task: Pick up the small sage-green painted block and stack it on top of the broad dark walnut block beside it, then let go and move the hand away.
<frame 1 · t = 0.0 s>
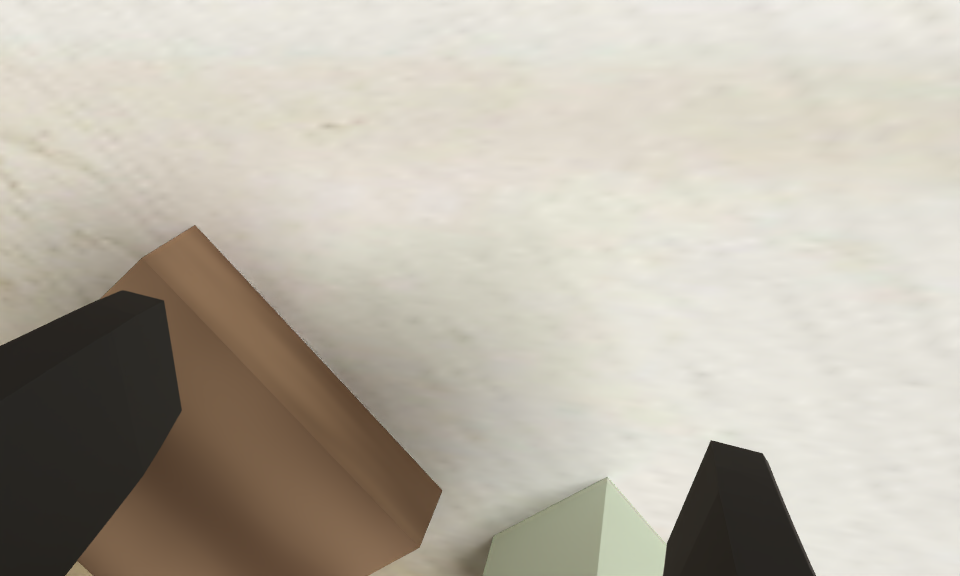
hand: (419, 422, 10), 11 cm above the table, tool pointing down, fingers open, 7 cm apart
sage block: (593, 555, 24), on the table
walnut block: (223, 435, 26), on the table
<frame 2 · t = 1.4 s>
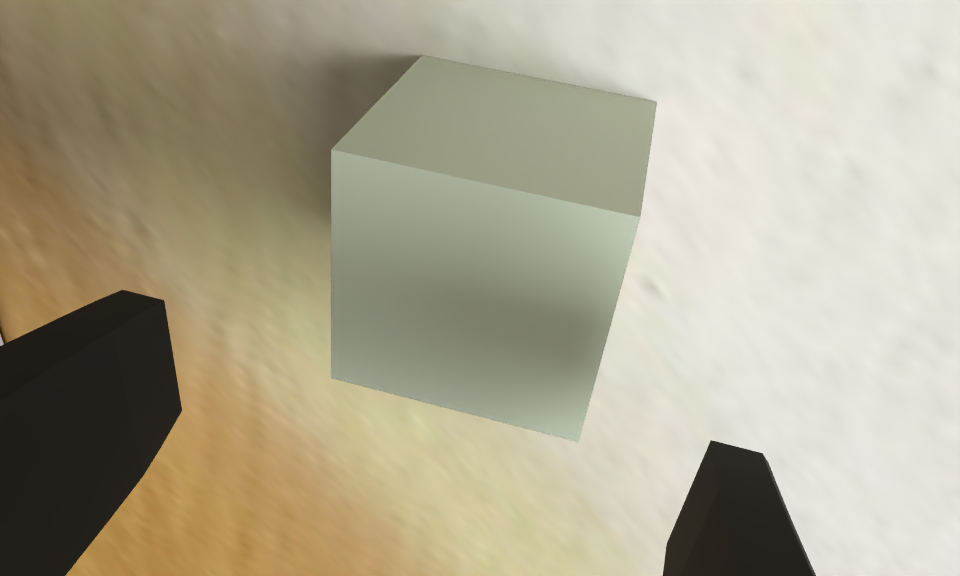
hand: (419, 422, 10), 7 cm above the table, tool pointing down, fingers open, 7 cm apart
sage block: (520, 182, 16), on the table
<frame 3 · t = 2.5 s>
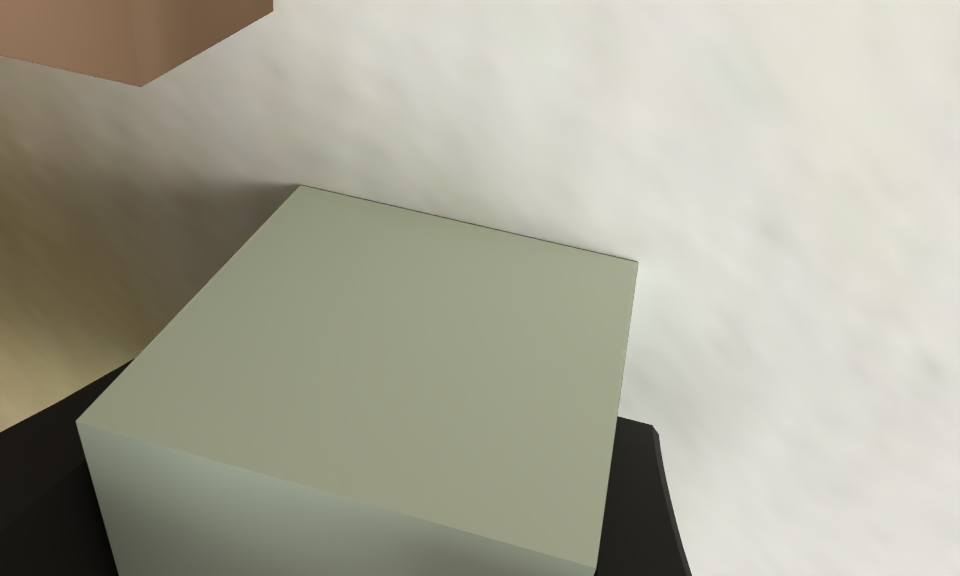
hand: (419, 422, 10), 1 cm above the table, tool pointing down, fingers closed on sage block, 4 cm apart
sage block: (448, 354, 11), on the table, touching gripper
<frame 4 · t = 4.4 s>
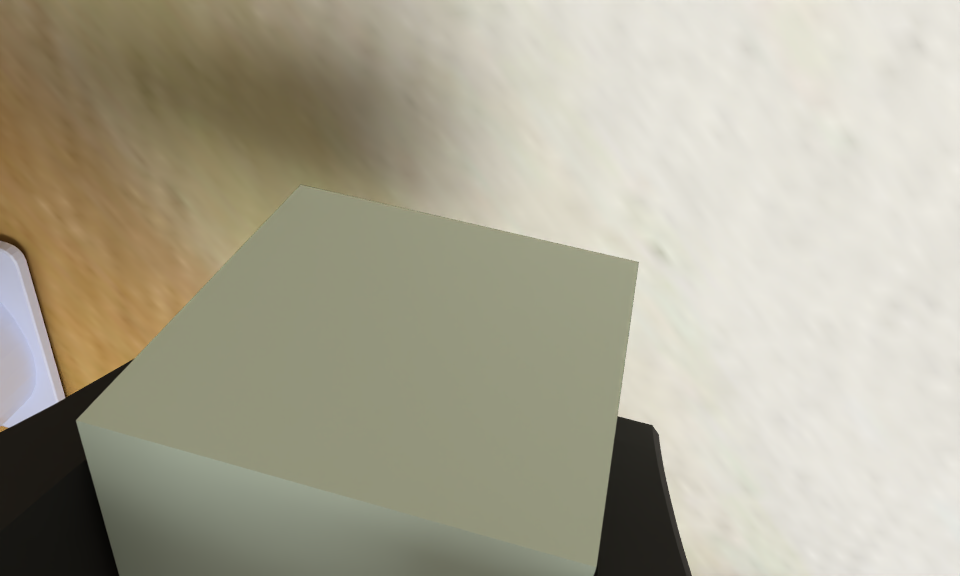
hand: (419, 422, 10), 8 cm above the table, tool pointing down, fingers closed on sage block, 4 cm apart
sage block: (448, 353, 11), point 7 cm above the table, touching gripper
when the fingers open (5 cm above the table, at t = 6.6 s): sage block drops 1 cm, point 2 cm above the table.
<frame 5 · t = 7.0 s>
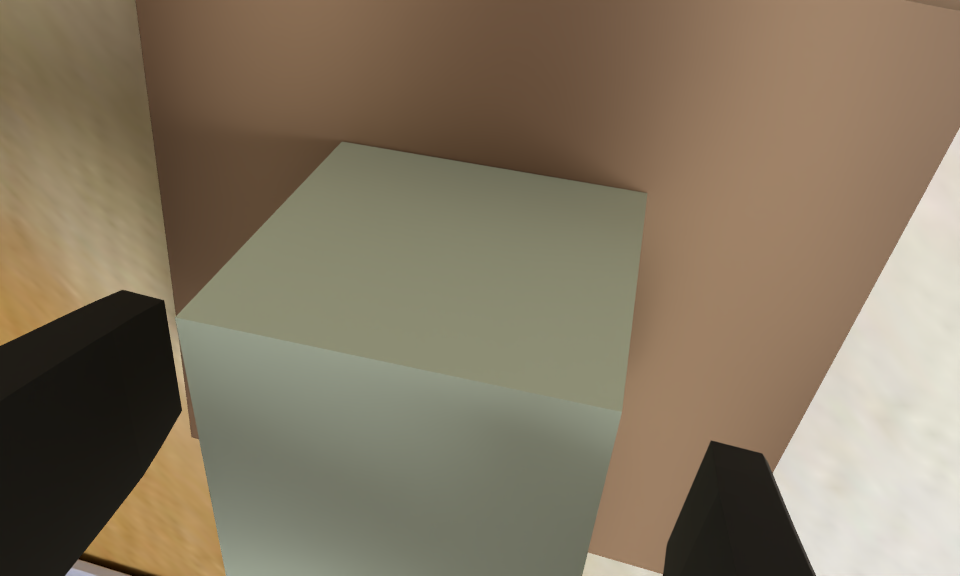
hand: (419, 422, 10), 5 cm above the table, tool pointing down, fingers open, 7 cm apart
sage block: (479, 293, 12), point 2 cm above the table
walnut block: (512, 207, 15), on the table
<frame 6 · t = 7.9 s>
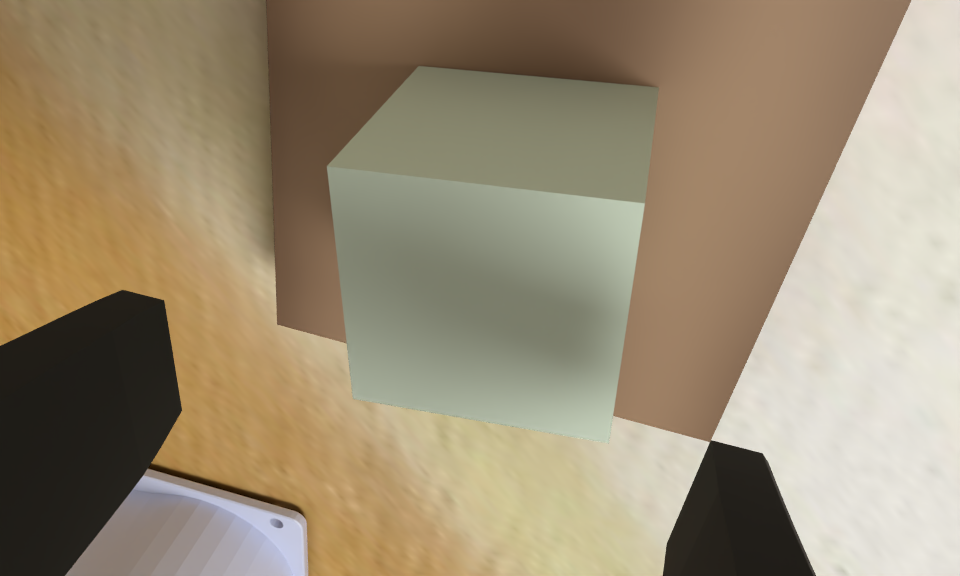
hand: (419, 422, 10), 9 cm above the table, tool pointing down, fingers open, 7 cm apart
sage block: (529, 185, 15), point 2 cm above the table, touching walnut block
walnut block: (548, 127, 18), on the table, touching sage block
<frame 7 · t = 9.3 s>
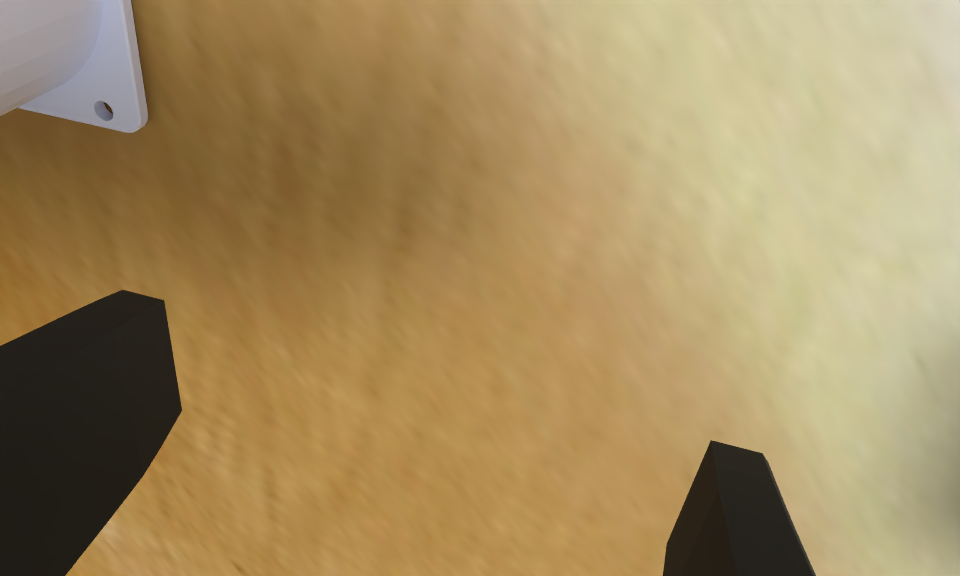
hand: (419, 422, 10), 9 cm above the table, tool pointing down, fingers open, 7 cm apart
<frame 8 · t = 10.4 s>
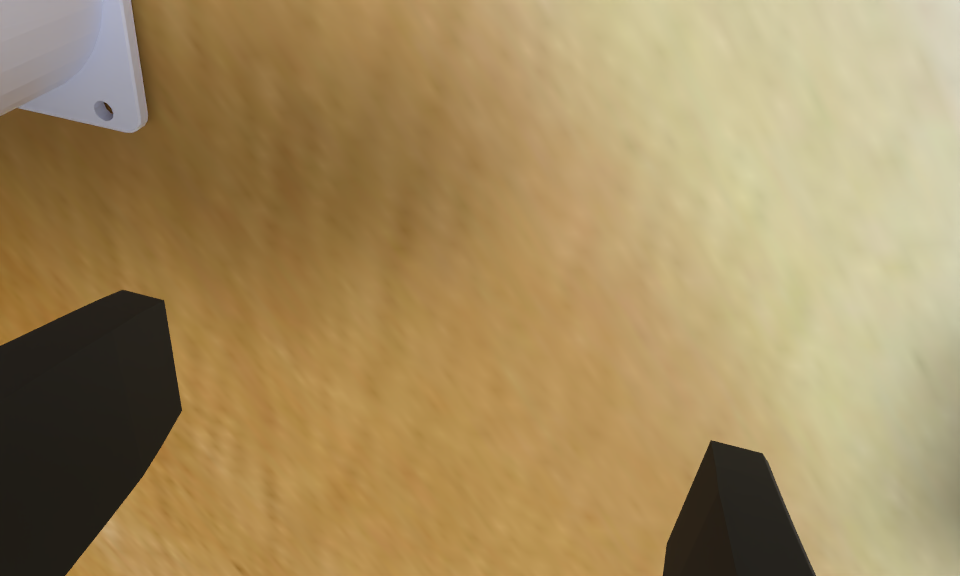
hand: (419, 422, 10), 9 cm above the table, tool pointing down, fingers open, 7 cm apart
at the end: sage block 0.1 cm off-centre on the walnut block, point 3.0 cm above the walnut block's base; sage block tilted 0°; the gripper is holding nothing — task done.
